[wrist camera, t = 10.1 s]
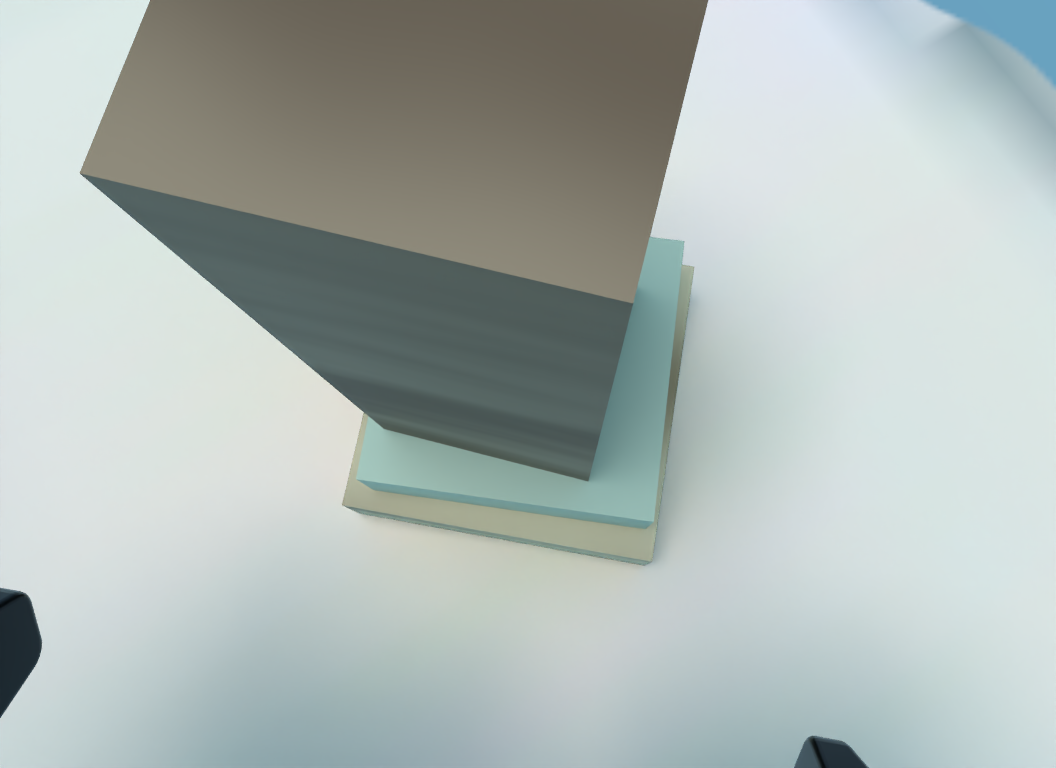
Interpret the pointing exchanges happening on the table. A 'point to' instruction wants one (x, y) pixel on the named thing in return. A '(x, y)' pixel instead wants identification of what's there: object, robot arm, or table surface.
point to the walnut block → (415, 193)
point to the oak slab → (525, 525)
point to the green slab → (623, 448)
